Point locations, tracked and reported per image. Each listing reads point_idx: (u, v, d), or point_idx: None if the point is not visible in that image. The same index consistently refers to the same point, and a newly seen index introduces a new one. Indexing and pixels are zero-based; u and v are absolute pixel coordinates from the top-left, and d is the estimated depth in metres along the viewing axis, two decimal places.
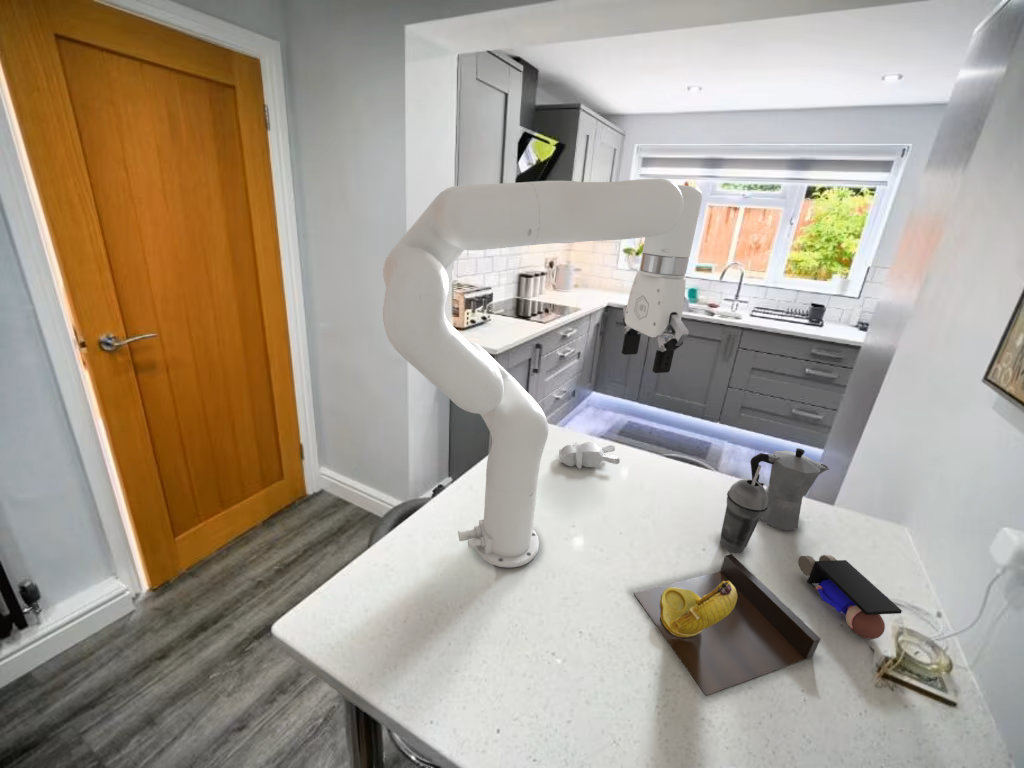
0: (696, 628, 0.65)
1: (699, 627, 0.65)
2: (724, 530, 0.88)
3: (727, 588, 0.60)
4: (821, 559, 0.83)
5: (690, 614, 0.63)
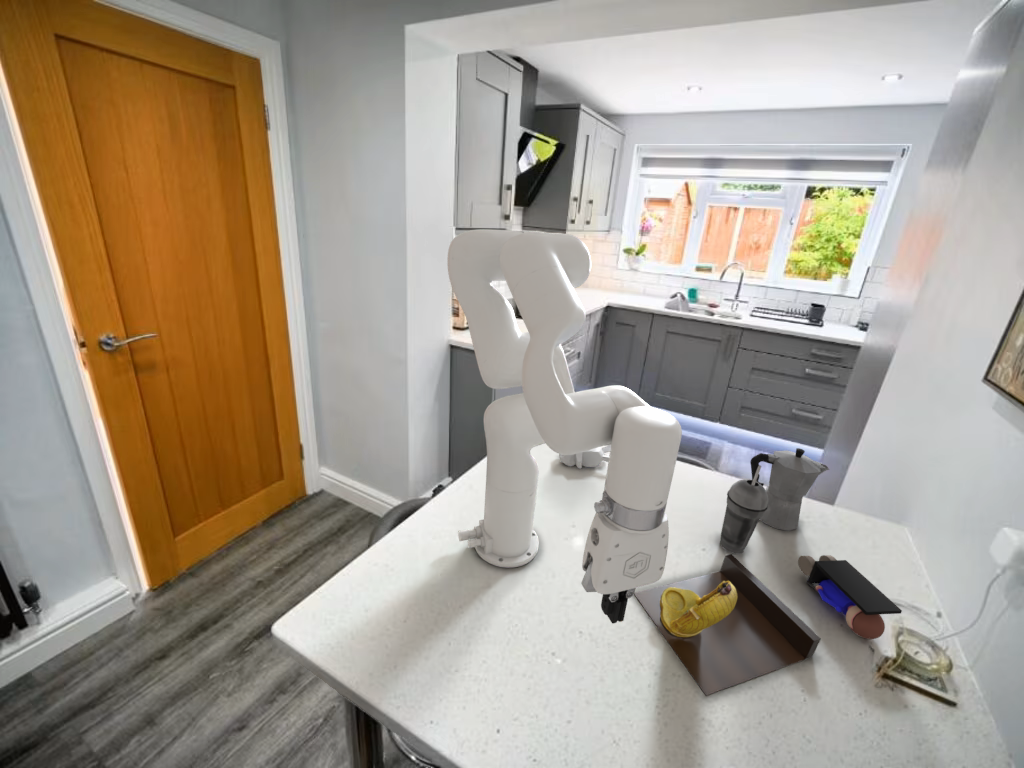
0: (696, 628, 0.65)
1: (699, 627, 0.65)
2: (724, 530, 0.88)
3: (727, 588, 0.60)
4: (821, 559, 0.83)
5: (690, 614, 0.63)
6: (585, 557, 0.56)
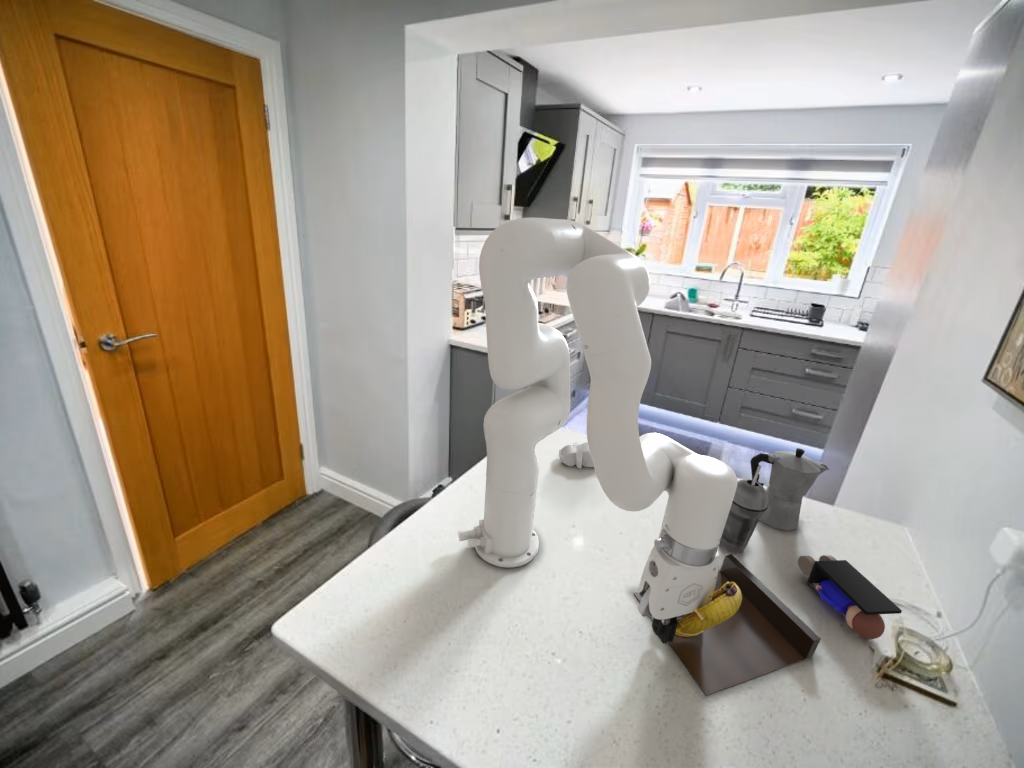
0: (699, 628, 0.65)
1: (702, 627, 0.64)
2: (724, 530, 0.88)
3: (733, 589, 0.60)
4: (821, 559, 0.83)
5: (694, 614, 0.63)
6: (642, 585, 0.63)
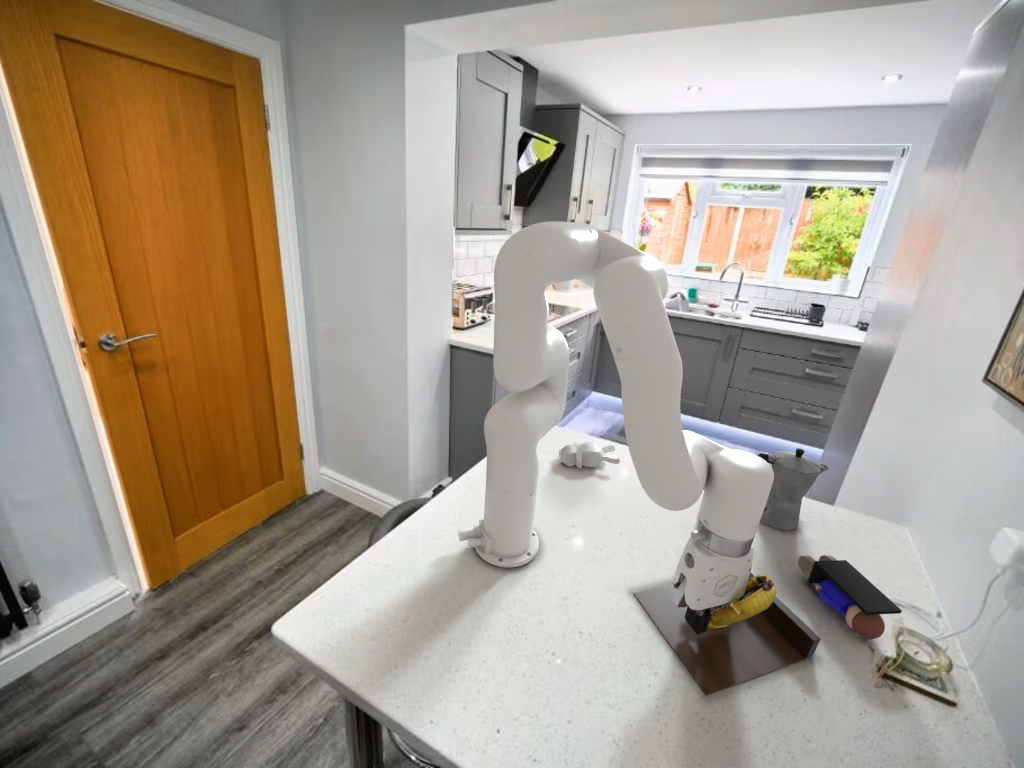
0: (732, 621, 0.67)
1: (735, 620, 0.66)
2: None
3: (770, 584, 0.61)
4: (821, 559, 0.83)
5: (729, 609, 0.65)
6: (677, 577, 0.65)
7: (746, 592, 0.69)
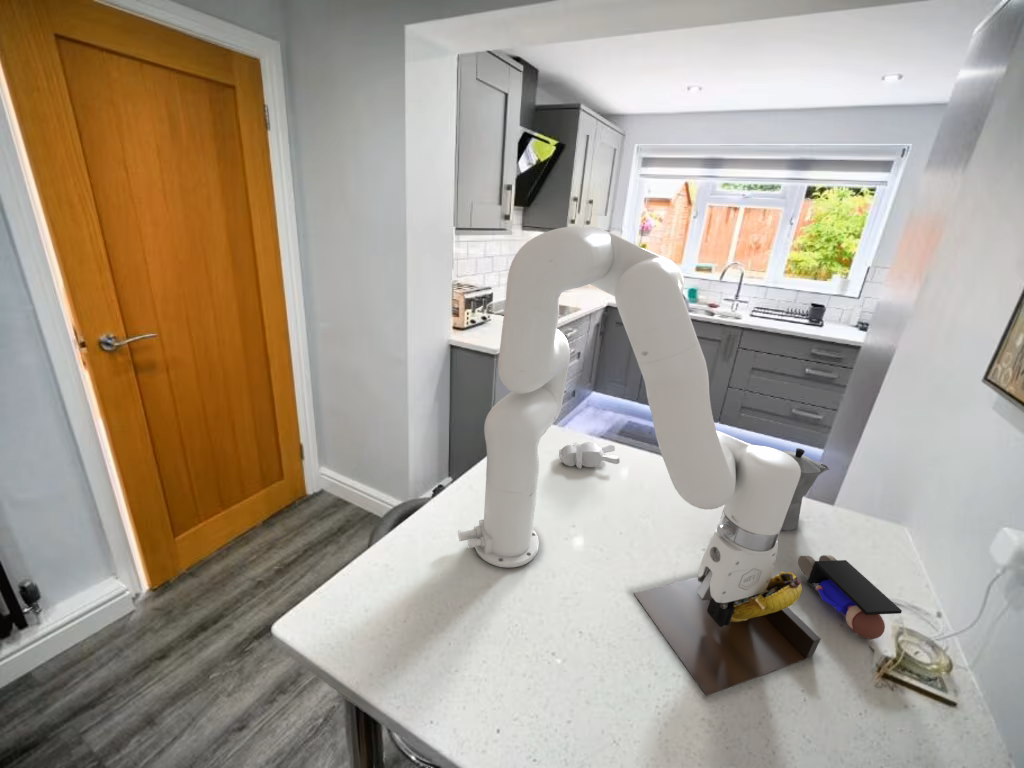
0: (754, 615, 0.68)
1: (758, 615, 0.68)
2: None
3: (797, 582, 0.62)
4: (821, 559, 0.83)
5: (754, 604, 0.66)
6: (702, 571, 0.66)
7: (769, 588, 0.71)
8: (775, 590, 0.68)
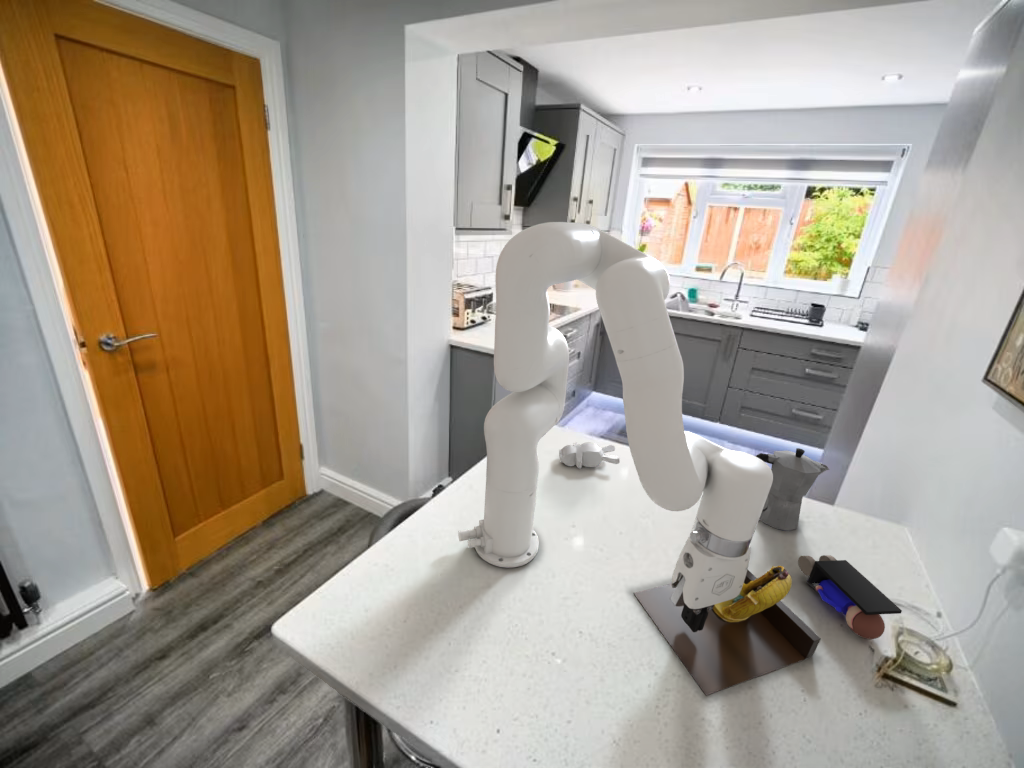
0: (750, 613, 0.68)
1: (754, 611, 0.68)
2: None
3: (785, 573, 0.63)
4: (821, 559, 0.83)
5: (747, 600, 0.67)
6: (676, 576, 0.65)
7: (763, 584, 0.71)
8: None
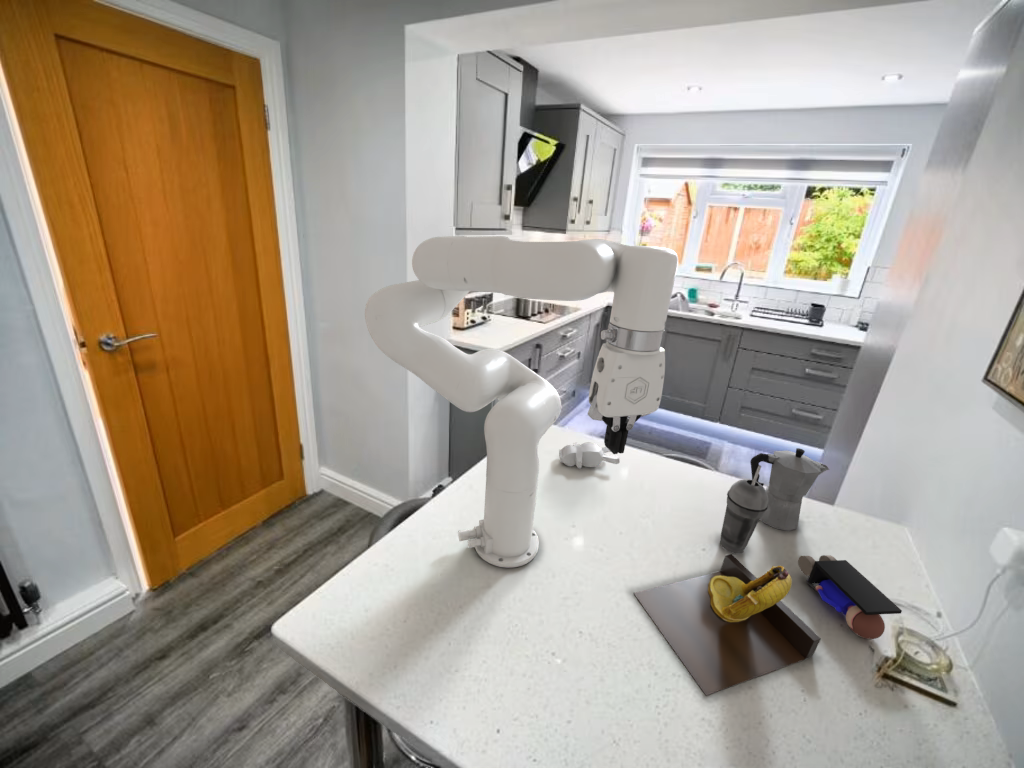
0: (750, 613, 0.68)
1: (754, 611, 0.68)
2: (724, 530, 0.88)
3: (785, 573, 0.63)
4: (821, 559, 0.83)
5: (747, 600, 0.67)
6: (591, 388, 0.64)
7: (763, 584, 0.71)
8: None
